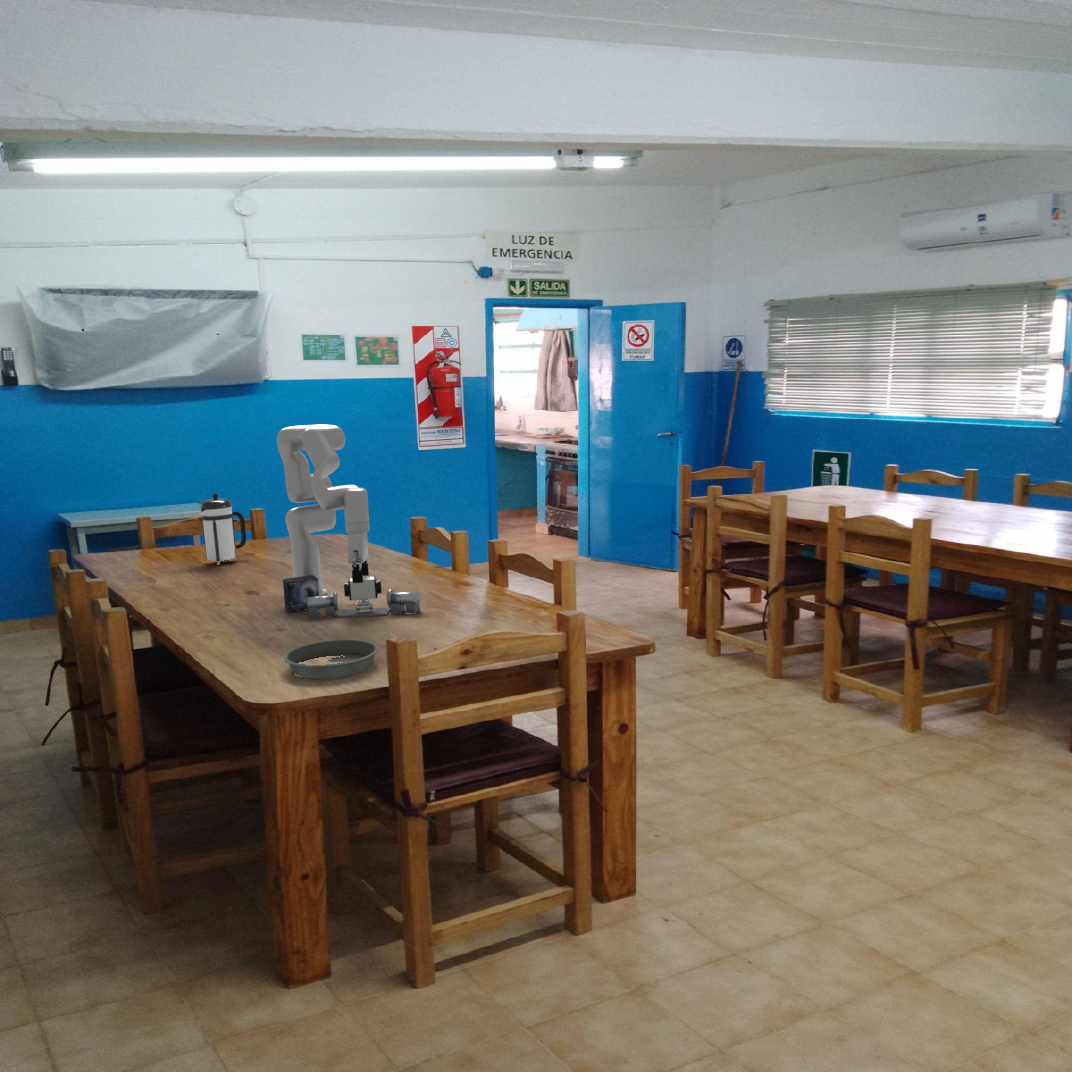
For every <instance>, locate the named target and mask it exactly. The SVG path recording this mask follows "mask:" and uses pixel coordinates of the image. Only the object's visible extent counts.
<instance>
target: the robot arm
mask: <svg viewBox="0 0 1072 1072" xmlns="http://www.w3.org/2000/svg"><path fill="white" fill-rule="evenodd" d="M276 444H277V445H276V446H277V449H278V453H279V455H280V457H281V460H282V463H283V469H284V477H285V478H284V480H285V487H286V493H287V494H286V495H287V498H288V500H289V501H290V502H291V503H296V504H300V503H309V502H317V504H312V505H310V504H309V505H301V506H296V507H294V508H291V509H289V510H288V511H287V512H286V514H285V524H286V528H287V532H288V535H289V536H288V537H289V542H290V550H291V559H292V570H293V571H292V573H293V578H294V577H301V576H309V575H314V576H315V577H317V578H318V588H319V596H322V595H323V596H327V595H328V590H327V588H323V580H322V568H321V558H320V547H319V543H318V541H317V540H316V538H314V536H313V535H312V534H313V533H317V532H323V531H329V530H332V529H334V527H335V525H336V524H337V523H336V522H337V514H336V511H338V510H344V523H345V533H347V559H348V560H347V563H348V564H350V565H351V576H352V577H351V578H352V581H353V583H362V582H363V577H364V576H365V577H369V573H370V572H369V561H368V558H369V543H368V542H369V541H368V540H369V539H368V532H370V531H371V529H370V516H369V513H370V512H369V499H368V497H369V496H368V491H367V489H365V488H363V487H359V486H358V485H356V484H345V485H335V486H333V484H332V481H331V479H330V477H329V475H331V474H332V473H334V472H336V470H337V469H338V468H339V466H340V464H341V463H340V462H341V460H340V457H339V456H338V454H337V452H336V451H340V450H342V449H343V448H344V447H345V444H346V435H345V433H344V431H343V429H341V428H340V426H338V425H334V424H324V423H323V424H321V423H320V424H307V425H304V424H303V425H294V426H287V427H284V428H282V429H281V430H279V431H278V433H277V437H276ZM302 451H305V452H306V453H307V455H308V456H307V457H308V458H309V460H310V461H311V463H312V465H313V467H314V471H313V473H311V472H310V464H309V460H308V458H307V457H306V455H305V454H304V453H303V452H302ZM282 590H283V591H284V587H283V586H282Z"/></svg>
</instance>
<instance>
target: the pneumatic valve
mask: <svg viewBox="0 0 1072 1072" xmlns="http://www.w3.org/2000/svg"><path fill="white" fill-rule="evenodd" d="M343 590H344V591H343V592H344V597H348V598H349V601H357V600H358V601H357V602H356V603H355V609H356V611H358V612H359V613H369V612H371V610H373V608H374V607H373V602H371V601H370V600H371V599H378V596H379V595H381V594H382V581H381V579H377V576H375V575H374V576H365V577H364V576H363V582H362V583H353V581H352V577H351V578H348V581H346V582H344V583H343Z"/></svg>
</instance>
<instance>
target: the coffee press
mask: <svg viewBox="0 0 1072 1072" xmlns="http://www.w3.org/2000/svg"><path fill="white" fill-rule="evenodd" d="M232 507H233V504H232V503H231V501H230V500H228V499H227V498H219V494H218V493H215V492H214V493H213V494H212V498H211V499H207V500H204V501H203V502H202V503H201V506H200V511H199V514H200V516H201V518H202V519H201V521H202V529H203V538H204V540H203V541H204V548H205V559H206V558H207V559H208V560H211V561H223V562H227V561H226V560H229V561H232V560H231V559H238V558H239V557H238V554H237V549H241V548H243V547H244V546H245V545H246V542H247V532H246V529H247V528H246V522H245V518H244V515H243V514H242V513H241V512H240V511H233V510H232ZM234 517H237V518H238V519H239V520H238V521H239V525H240V534H241V537H240V538H241V541H240V542H239V543H238V544H236V536H235V528H234V527H235V526H234ZM207 559H206V560H207ZM208 560H207V561H208ZM224 560H225V561H224Z"/></svg>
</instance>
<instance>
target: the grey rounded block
mask: <svg viewBox="0 0 1072 1072" xmlns="http://www.w3.org/2000/svg"><path fill="white" fill-rule="evenodd" d="M420 602H421V595H420V593H419V592H417V591H416V592H415V591H414V592H413V591H407V592H405V591H404V592H403V591H402V592H399V591H398V592H396V591H395V589H392V588H391V589H389V590H388V591H387V594H386V604H387V608H388V607H389V608H391V611H390V615H401V614H402V613H404V612H405V614H406V613H415V612H417V613H419V612H420V611H421V609H420V608H421V606H420ZM419 610H420V611H419ZM403 611H404V612H403ZM401 612H402V613H401ZM400 613H401V614H400Z"/></svg>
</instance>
